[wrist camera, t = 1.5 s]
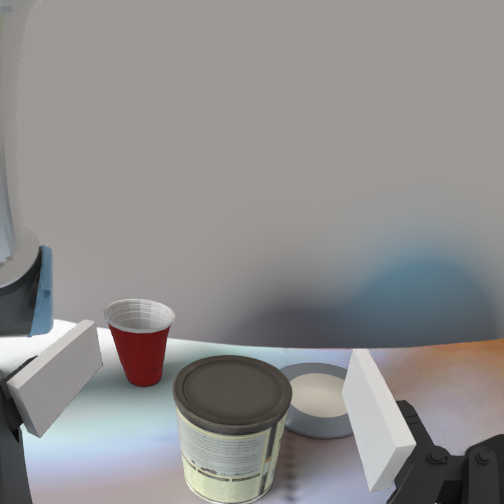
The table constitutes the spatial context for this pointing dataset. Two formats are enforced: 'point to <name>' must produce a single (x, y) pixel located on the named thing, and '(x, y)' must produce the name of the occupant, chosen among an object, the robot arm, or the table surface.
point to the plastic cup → (140, 337)
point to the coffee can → (230, 426)
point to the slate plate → (317, 401)
